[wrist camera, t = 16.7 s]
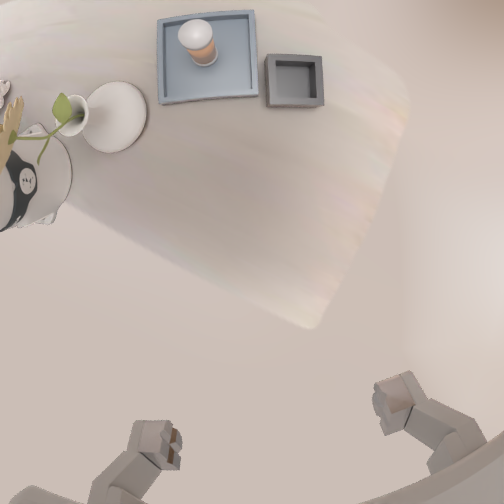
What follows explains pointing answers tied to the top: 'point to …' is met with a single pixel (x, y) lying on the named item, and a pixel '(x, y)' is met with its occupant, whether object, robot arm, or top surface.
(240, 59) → the parts tray
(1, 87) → the white lumpy oval piece
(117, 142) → the flower in vase
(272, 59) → the socket block
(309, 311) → the top surface
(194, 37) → the tan bottle
